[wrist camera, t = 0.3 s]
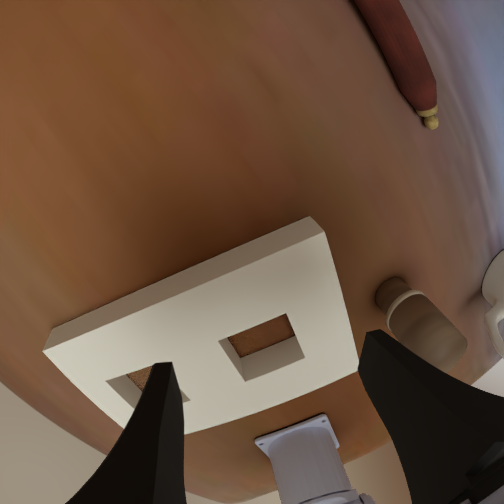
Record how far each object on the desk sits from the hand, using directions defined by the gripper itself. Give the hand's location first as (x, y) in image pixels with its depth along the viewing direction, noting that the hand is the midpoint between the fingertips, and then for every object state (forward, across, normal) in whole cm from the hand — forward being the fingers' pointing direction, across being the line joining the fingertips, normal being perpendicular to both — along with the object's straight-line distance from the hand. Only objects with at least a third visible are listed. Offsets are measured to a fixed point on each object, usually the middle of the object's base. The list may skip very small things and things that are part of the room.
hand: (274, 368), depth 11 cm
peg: (+10, -12, +5) cm, 16 cm away
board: (+10, +3, +8) cm, 13 cm away
